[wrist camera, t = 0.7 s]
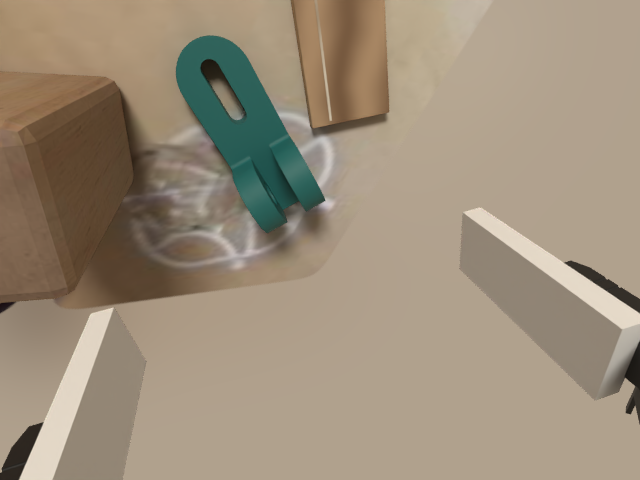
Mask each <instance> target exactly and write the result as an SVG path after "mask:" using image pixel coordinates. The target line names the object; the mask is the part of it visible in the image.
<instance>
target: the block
mask: <svg viewBox="0 0 640 480" xmlns="http://www.w3.org/2000/svg"><path fill="white" fill-rule="evenodd" d="M133 178H134V172H133V166H132V160H131V154H130V149H129V143H128V137H127V131H126V125H125V119H124V114H123V108H122V102H121V96H120V90H119V88H118V87H117V85H116V83H115V81H113V80H111V79H108V78H106V77H96V76H77V75H58V74H39V73H20V72H1V71H0V303H3V302H16V301H28V300H41V299H54V298H59V297H61V296H64V295H67V294H69V293H70V292H72V291H73V290H74V289H75V288H76V286H77V284H78V282H79V280H80V278H81V277H82V275H83V273H84V271H85V269H86V267H87V265H88V264H89V262H90V260H91V258H92V256H93V254H94V252H95V251H96V249H97V247H98V245H99V243H100V241H101V240H102V238H103V236H104V234H105V232H106V230H107V228H108V227H109V225H110V223H111V221H112V219H113V217H114V216H115V214H116V212H117V210H118V208H119V206H120V204H121V203H122V201H123V199H124V197H125V195H126V193H127V191H128V190H129V188H130V186H131V184H132V182H133Z"/></svg>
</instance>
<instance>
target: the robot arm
mask: <svg viewBox="0 0 640 480" xmlns="http://www.w3.org/2000/svg"><path fill="white" fill-rule="evenodd" d="M460 270H461V271H462V272H463V273H464V274H465V275H466V276H467V277H469V279H470V280H471V281H472V282H474V283H475V284H476V285H477V286H478V287H479V288H480V289H481V290H482V291H483V292H484V293H485V294H486V295H487V296H488V297H489V298H490V299H491V300H492V301H493V302H494V303H495V304H496V305H497V306H498V307H499V308H500V309H501V310H502V311H503V312H504V313H506V314H507V316H509V317H510V318H511V319H512V320H513V321H514V322H515V323H516V324H517V325H518V326H519V327H520V328H521V329H522V330H523V331H524V332H525V333H526V334H527V335H528V336H529V337H530V338H531V339H532V340H533V341H534V342H535V343H536V344H537V345H538V346H539V347H540V348H541V349H542V350H544V351H545V352H546V353H547V354H548V355H549V356H550V357H551V358H552V359H553V360H554V361H555V362H556V363H557V364H558V365H559V366H560V367H561V368H562V369H563V370H564V371H565V372H566V373H567V374H568V375H569V376H570V377H571V378H572V379H573V380H574V381H575V382H576V383H577V384H578V385H579V386H580V387H582V388H583V389H584V390H585V391H586V392H587V393H588V394H589V395H590V396H591V397H592V398H593V399H594V400H598V399H601V398H604V397H606V396H609V395H612V394H615V393H617V392H619V390H620V388H621V385H622V383H623V381H624V379H625V378H627V379H628V380H629V381H630V382H631V383H632V384H634V385H635V389H634V391H633V393H632V395H631V398H630V399H629V402H628V404H627V406H626V413H628V414H631V412H632V411H633V408H634V406H635V405H636V410H637V414H638V419H639V423H640V299H639V298H637V297H636V296H634V295H632V294H631V293H629V292H628V291H626V290H624V289H623V288H619V287H618V285H617V284H615V283H614V282H612V281H610V280H609V279H608V280H606V279H605V277H604V276H602V275H601V274H599V273H598V272H596V271H595V270H593V269H591V268H590V267H587V266H584V265H581V264H578V263H576V262H573V261H568V262H565V263H563V262H562V261H560V260H559V259H557V258H556V257H554V256H553V255H551V254H550V253H548V252H547V251H545V250H543V249H542V248H541V247H539V246H538V245H536V244H535V243H533V242H532V241H530V240H528V239H527V238H526V237H524V236H523V235H521V234H520V233H518V232H517V231H515V230H514V229H512V228H511V227H509V226H508V225H506V224H505V223H503V222H502V221H500V220H499V219H497V218H496V217H494V216H493V215H491V214H489V213H488V212H486V211H485V210H484V209H482V208H481V207H480V208H477V209H473V210H469V211H466V212H463V216H462V234H461V253H460ZM145 365H146V360H145V358H144V356H143V355H142V353H141V352H140V350H139V348H138V347H137V345H136V343H135V341H134V340H133V338H132V336H131V335H130V333H129V331H128V330H127V328H126V326H125V325H124V323H123V321H122V320H121V318H120V316H119V315H118V313H117V311H116V310H115V308H114V307H113V308H110V309H106V310H102V311H99V312H95V313H91V314H90V317H89V319H88V321H87V324H86V326H85V328H84V331H83V333H82V335H81V338H80V340H79V342H78V345H77V347H76V349H75V352H74V354H73V356H72V359H71V361H70V363H69V365H68V368H67V370H66V372H65V375H64V377H63V379H62V382H61V384H60V386H59V389H58V391H57V393H56V396H55V398H54V400H53V403H52V405H51V407H50V409H49V412H48V414H47V416H46V419H45V421H44V422H43V423H39V424H36V425H33V426H29V427H28V428H27V430H26V431H25V432H24V433H23V434H22V436H21V437H20V438H19V439H18V441H17V442H16V443H15V444H14V445H13V447H12V448H11V450H10V452H9V455H8V457H7V459H6V461H5V463H4V465H3V467H2V473H0V480H122V479H123V474H124V469H125V464H126V459H127V454H128V449H129V445H130V440H131V435H132V430H133V425H134V419H135V415H136V410H137V405H138V400H139V395H140V390H141V385H142V380H143V375H144V370H145Z"/></svg>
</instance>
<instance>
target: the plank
mask: <svg viewBox="0 0 640 480" xmlns="http://www.w3.org/2000/svg"><path fill="white" fill-rule="evenodd" d="M291 4H292V10H293V17H294V23H295V30H296V36H297V43H298V49H299V56H300V62H301V69H302V75H303V82H304V88H305V95H306V101H307V108H308V114H309V120H310V126H311V127H312V128H317V127H322V126H327V125H331V124H336V123H341V122H346V121H350V120H355V119H360V118H364V117H369V116H374V115H379V114H383V113H388V112H389V94H388V71H387V47H386V24H385V1H384V0H291Z"/></svg>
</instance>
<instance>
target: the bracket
mask: <svg viewBox="0 0 640 480" xmlns="http://www.w3.org/2000/svg"><path fill="white" fill-rule="evenodd" d="M206 59H212V60H214V61H216V62H217V63H218V65H219V67H220V68H221V70H222V72H223V73H224V75H225V77H226V79H227V80H228V82H229V84H230V85H231V87H232V89H233V90H234V92H235V94H236V96H237V97H238V99H239V101H240V102H241V104H242V106H243V108H244V109H245V116H244V117H243V118H242V119H241V120H234V119H232V118H231V117H230V116H229V114H228V112H227V111H226V109H225V107H224V106H223V104H222V103H221V101H220V99H219V98H218V96H217V94H216V93H215V91H214V90H213V88H212V86H211V85H210V83H209V81H208V80H207V78H206V77H205V75H204V73H203V72H202V69H201V64H202V62H203V61H204V60H206ZM176 78H177V83H178V87H179V89H180V91H181V93H182V95H183V97H184V98H185V100H186V101H187V103H188V104H189V106H190V107H191V109H192V110H193V112H194V113H195V115H196V116H197V118H198V119H199V121H200V122H201V124H202V125H203V127H204V128H205V130H206V131H207V133H208V134H209V136H210V137H211V139H212V140H213V142H214V143H215V145H216V146H217V148H218V149H219V151H220V152H221V154H222V155H223V157H224V158H225V160H226V161H227V163H228V164H229V166H230V167H231V169H232V173H233V180H234V183H235V185H236V187H237V190H238V192H239V194H240V196H241V198H242V199H243V201H244V203H245V205H246V206H247V208H248V210H249V211H250V213H251V214H252V216H253V217H254V219H255V220H256V222H257V223H258V224H259V226H260V227H261V228H262V229H263V230H264V231H265V232H266V233H269V232H271V231H272V230H274V229H276V228H278V227H280V226H281V225H283V224H285V223H287V219H286V216H285V214H284V211H283V210H284V209H285V208H287V207H289V206H291V205H293V204H294V203H296V202H298V201H300V203H301V204H302V206H303V208H304V209H305V211H308V210H310V209H311V208H313V207H315V206H317V205H319V204H320V203H322V202H324V201H325V198H324V196H323V194H322V192H321V190H320V188H319V186H318V184H317V182H316V181H315V179H314V177H313V175H312V173H311V171H310V170H309V168H308V166H307V164H306V162H305V161H304V159H303V157H302V155H301V154H300V152H299V150H298V149H297V147H296V145H295V144H294V142H293V141H292V139H291V138H290V136H289V135H288V133H287V131H286V129H285V127H284V125H283V123H282V121H281V120H280V118H279V116H278V114H277V112H276V110H275V108H274V107H273V105H272V103H271V101H270V99H269V97H268V95H267V94H266V92H265V90H264V88H263V86H262V84H261V82H260V80H259V79H258V77H257V75H256V73H255V71H254V69H253V67H252V66H251V64H250V62H249V60H248V58H247V57H246V55H245V54H244V52H243V51H242V50H241V49H240V48H239V47H238V46H237V45H235V44H234V43H233V42H231V41H229V40H227V39H225V38H223V37H219V36H203V37H200V38H197V39H195V40H193V41H192V42H190V43H189V44H188V45H187V46H186V47H185V48H184V49H183V50H182V52H181V54H180V56H179V58H178V61H177V66H176Z"/></svg>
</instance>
